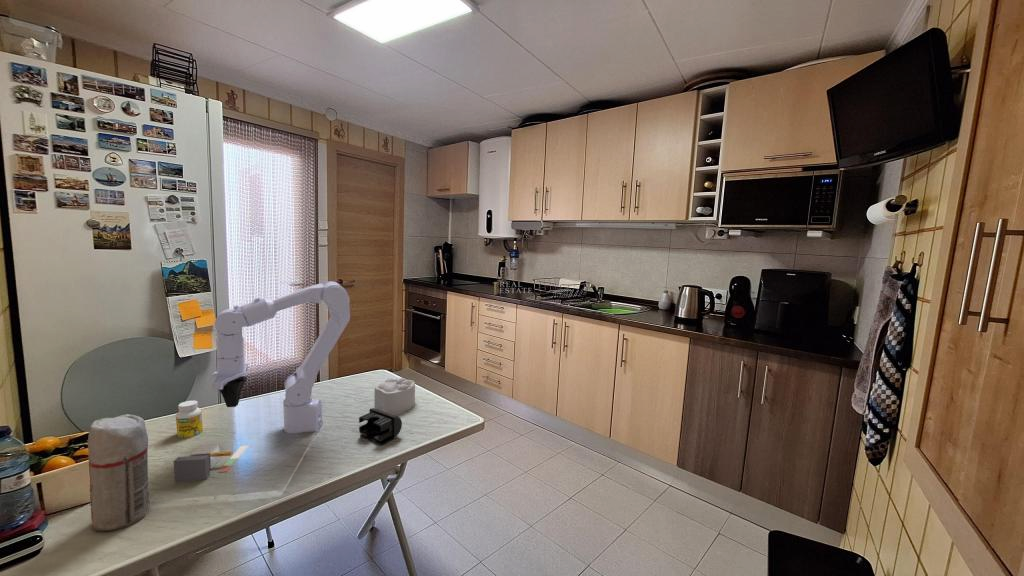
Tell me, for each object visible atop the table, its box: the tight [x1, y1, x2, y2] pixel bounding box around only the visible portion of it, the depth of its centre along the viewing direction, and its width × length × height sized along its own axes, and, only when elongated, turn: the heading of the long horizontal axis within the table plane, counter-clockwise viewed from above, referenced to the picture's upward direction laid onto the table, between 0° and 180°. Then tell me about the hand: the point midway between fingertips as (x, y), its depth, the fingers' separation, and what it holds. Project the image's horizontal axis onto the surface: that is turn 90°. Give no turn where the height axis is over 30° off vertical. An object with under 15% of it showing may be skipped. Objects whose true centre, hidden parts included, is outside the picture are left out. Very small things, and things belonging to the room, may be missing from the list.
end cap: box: [358, 407, 403, 447], centre depth 110 cm, size 10×7×7 cm
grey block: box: [189, 444, 234, 470], centre depth 92 cm, size 8×4×4 cm, turn 102°
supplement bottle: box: [175, 400, 204, 439], centre depth 105 cm, size 5×5×10 cm
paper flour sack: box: [87, 413, 150, 532], centre depth 74 cm, size 8×8×20 cm
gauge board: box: [173, 445, 250, 483], centre depth 93 cm, size 12×18×6 cm, turn 12°
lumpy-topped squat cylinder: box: [373, 377, 416, 415], centre depth 130 cm, size 10×13×9 cm
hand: (232, 406), depth 102 cm, fingers closed
